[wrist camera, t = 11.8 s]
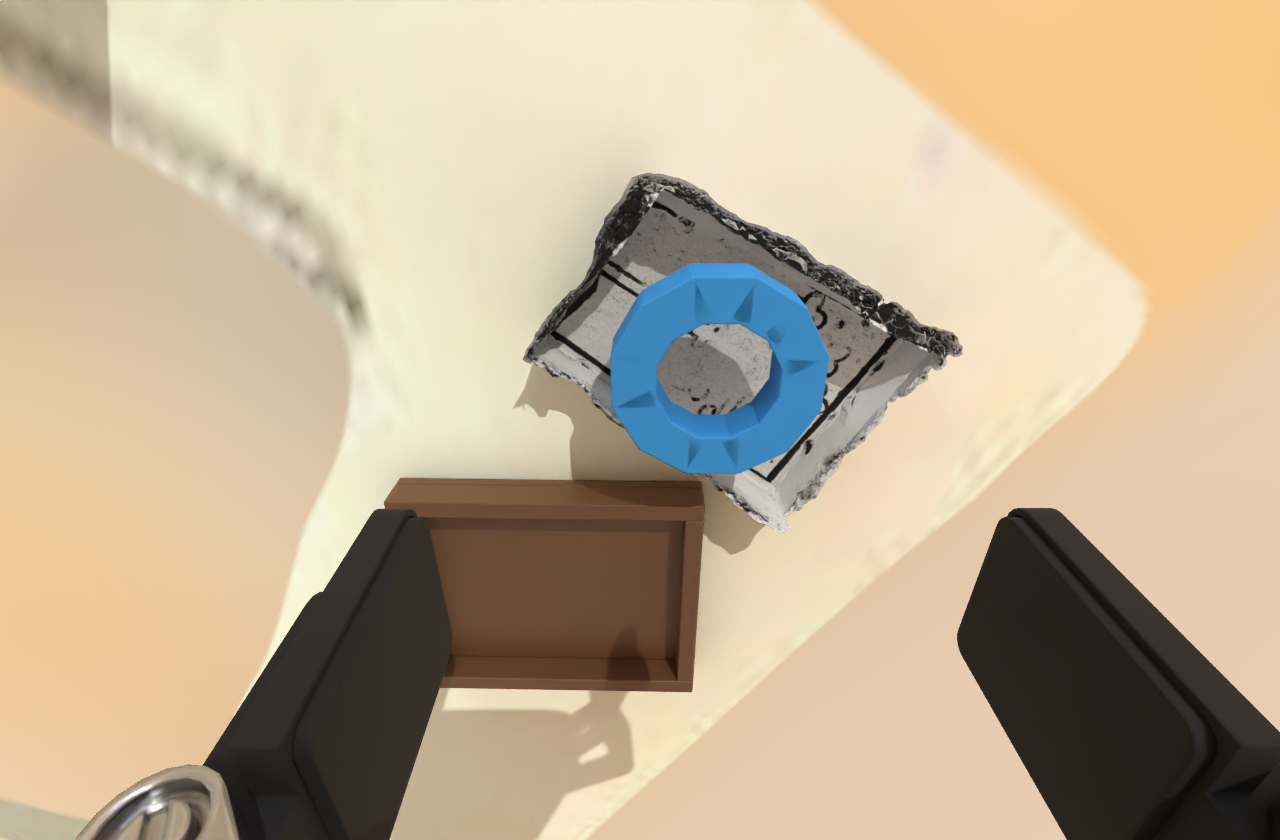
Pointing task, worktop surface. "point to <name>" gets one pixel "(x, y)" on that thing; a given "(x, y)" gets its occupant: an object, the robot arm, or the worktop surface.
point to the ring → (748, 428)
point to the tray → (565, 580)
